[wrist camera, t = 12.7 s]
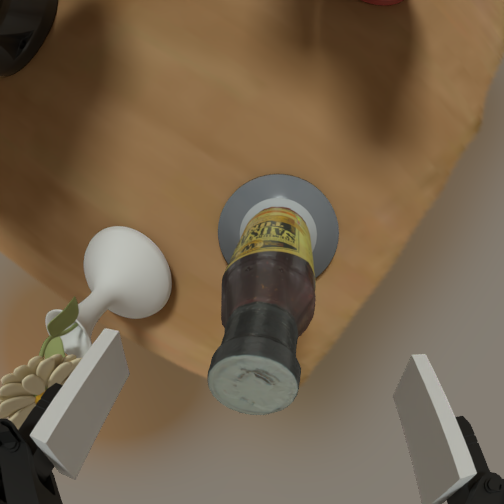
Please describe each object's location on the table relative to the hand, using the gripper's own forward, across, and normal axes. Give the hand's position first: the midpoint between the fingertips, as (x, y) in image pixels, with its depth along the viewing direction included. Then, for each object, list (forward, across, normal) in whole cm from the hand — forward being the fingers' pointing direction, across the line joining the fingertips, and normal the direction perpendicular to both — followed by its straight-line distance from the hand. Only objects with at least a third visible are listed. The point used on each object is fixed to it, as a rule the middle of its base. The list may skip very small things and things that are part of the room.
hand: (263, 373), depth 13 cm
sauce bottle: (+19, 0, 0) cm, 19 cm away
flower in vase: (+20, -16, -6) cm, 26 cm away
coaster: (+20, 0, -1) cm, 20 cm away
